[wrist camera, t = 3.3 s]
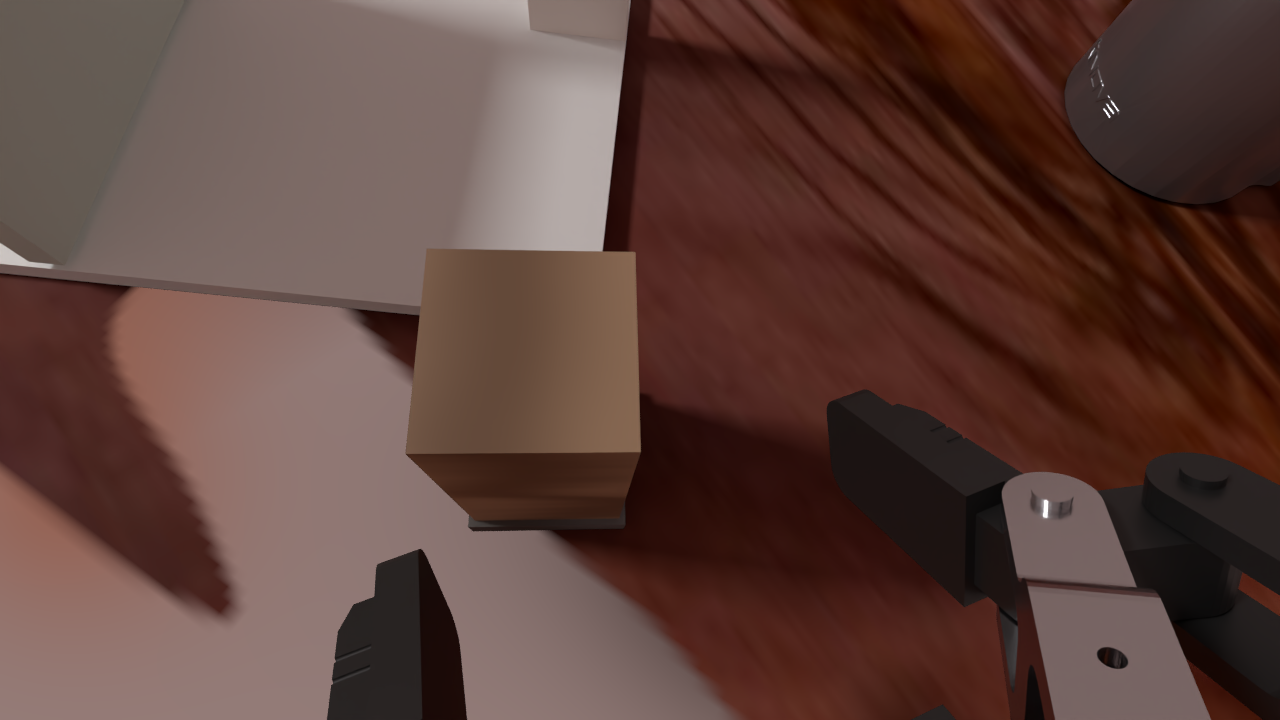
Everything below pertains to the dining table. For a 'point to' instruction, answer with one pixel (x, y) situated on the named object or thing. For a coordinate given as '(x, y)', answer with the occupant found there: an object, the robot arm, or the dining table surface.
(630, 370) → the tan rectangular block
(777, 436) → the dining table surface
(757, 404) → the dining table surface
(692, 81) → the dining table surface
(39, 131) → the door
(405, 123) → the door frame
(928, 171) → the dining table surface
